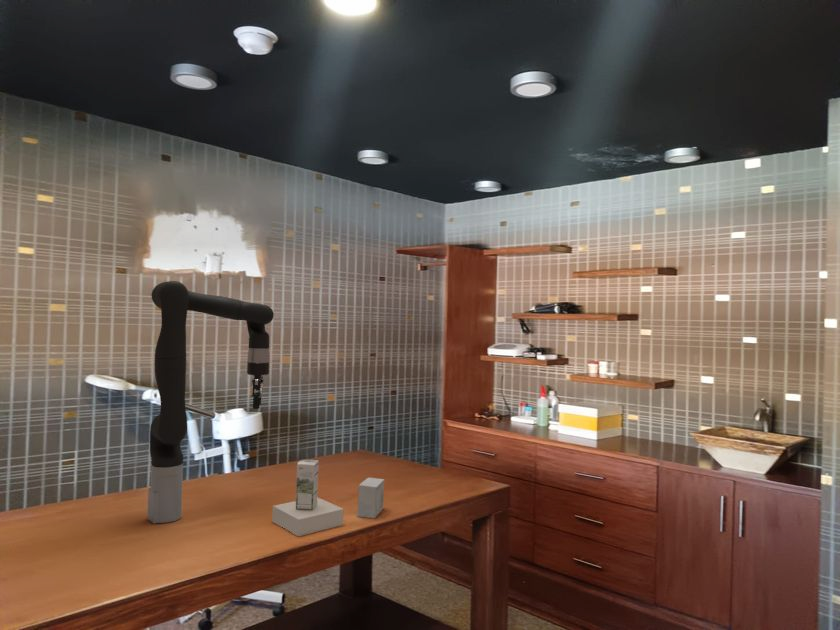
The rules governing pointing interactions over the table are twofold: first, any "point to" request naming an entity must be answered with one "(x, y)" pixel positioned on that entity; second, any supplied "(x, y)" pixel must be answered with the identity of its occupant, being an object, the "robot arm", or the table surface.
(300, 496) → the syrup box
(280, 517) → the plinth
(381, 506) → the skincare box
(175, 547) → the table surface
